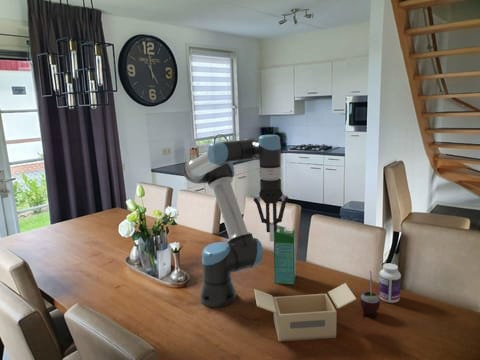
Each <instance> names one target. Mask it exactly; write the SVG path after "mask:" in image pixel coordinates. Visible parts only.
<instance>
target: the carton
mask: <svg viewBox="0 0 480 360" xmlns="http://www.w3.org/2000/svg"><path fill="white" fill-rule="evenodd" d="M328 295H329V294H328V293H317V294H315V293H314V294H313V293H312V294H299V295H298V294H297V295H285V296H284V295H283V296H273V299H274V303H275V306H276V310H277V313H274V312H273V323H274V327H275V328H274V329H275V331H276V335H277V340H278V342H292V341H293V342H294V341H307V340H310V341H311V340H323V339H335V338H337V315H338V314H337V309H336V307H335V305H334V303H332V300H331V298H330V296H328Z"/></svg>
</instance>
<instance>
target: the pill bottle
mask: <svg viewBox="0 0 480 360" xmlns="http://www.w3.org/2000/svg"><path fill="white" fill-rule="evenodd" d="M401 281H402V274H401V273H400V271H399V267H398V265H397V264H394V263H390V262H389V263H384V264H383V266H382V269H381V270H380V271H379V281H378V282H379V283H378V297H379V300H380V299H381V300H382V301H383V302H385V303H391V304H394V303H397V302H399V301H400V300H401V285H402V283H401ZM381 300H380V301H381Z"/></svg>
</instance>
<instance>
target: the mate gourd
mask: <svg viewBox="0 0 480 360" xmlns="http://www.w3.org/2000/svg"><path fill="white" fill-rule="evenodd" d="M372 275H373V274H372V271H371V270H370V271H369V277H370V278H369V282H370V283H369V285H370V287H369V288H370V291H365V292H363V293H362V294H361V295H360V299H359V300H360V302H359V303H360V307H361V309H362V313H363V314H362V317H366V316H371V317H372V318H373V319H376V318H377V316H376V315H377V312H378V310H379V309H380V305H381V300H380V297H379V294H377V293H375V292H373V277H372Z"/></svg>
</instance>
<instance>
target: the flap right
mask: <svg viewBox="0 0 480 360" xmlns="http://www.w3.org/2000/svg"><path fill="white" fill-rule="evenodd" d="M327 295H329V296H328V297H329V298H330V300H331V302H333V303H332V304H333V305H334V307H335V309H336V310H340V309H341V308H343V307H345V306H347V305H349V304H351V303H353V302H355V301H357V298H356V296H355V295H354V293H353V292H352V290H351V288H350V287H349V286H348V284H347V283H346V282H344V283H342V284H341V285H338V286H337V287H335V288H332V289H331V290H329V291H327Z"/></svg>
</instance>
